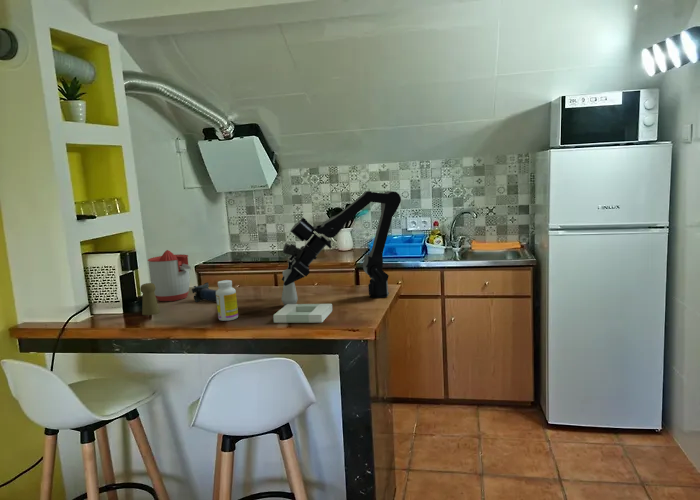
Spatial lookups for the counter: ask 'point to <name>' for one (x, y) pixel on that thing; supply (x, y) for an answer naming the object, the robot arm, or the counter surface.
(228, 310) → the supplement bottle
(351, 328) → the counter surface
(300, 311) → the square frame holder
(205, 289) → the dark blue irregular lump
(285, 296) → the grey pestle
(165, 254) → the citrus juicer
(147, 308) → the cork
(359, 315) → the counter surface
